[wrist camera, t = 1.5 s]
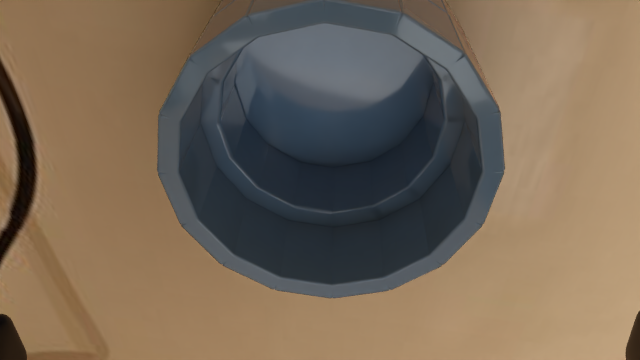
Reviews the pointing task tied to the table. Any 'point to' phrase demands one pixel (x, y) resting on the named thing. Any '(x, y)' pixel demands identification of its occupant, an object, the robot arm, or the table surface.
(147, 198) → the table surface
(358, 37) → the bowl
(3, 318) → the robot arm
